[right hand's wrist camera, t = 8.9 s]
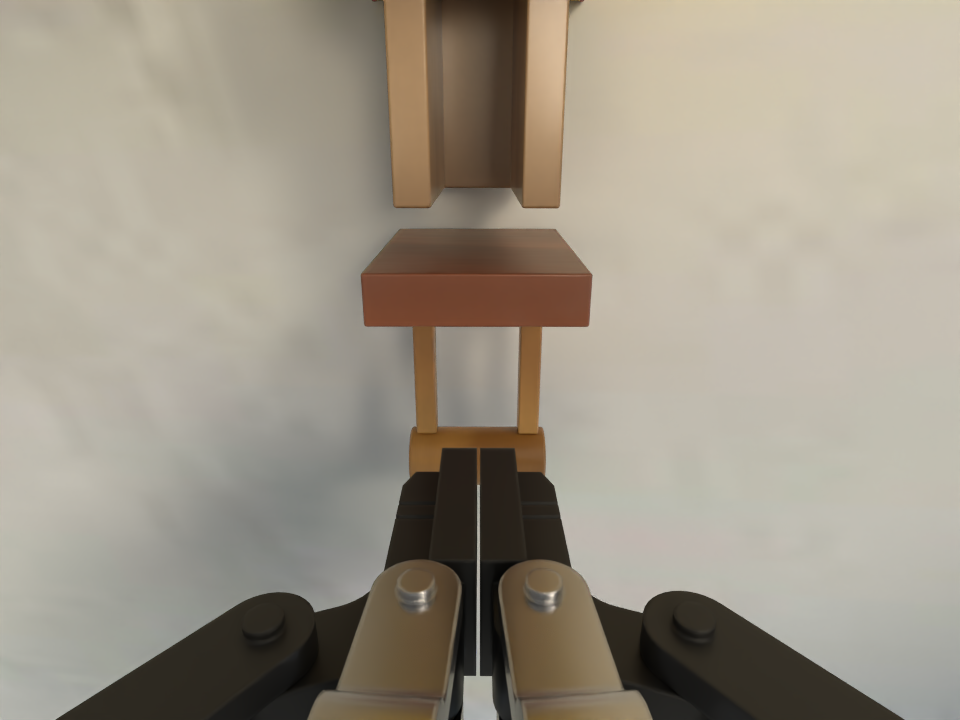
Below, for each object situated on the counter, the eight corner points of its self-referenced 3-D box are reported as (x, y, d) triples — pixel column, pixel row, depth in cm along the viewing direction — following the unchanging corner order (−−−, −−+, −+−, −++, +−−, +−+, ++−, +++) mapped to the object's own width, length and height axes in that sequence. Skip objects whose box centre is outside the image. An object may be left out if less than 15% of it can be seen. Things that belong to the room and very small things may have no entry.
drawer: (546, 433, 22) (573, 553, 15) (408, 433, 22) (379, 553, 15) (587, -466, 14) (677, -974, 7) (368, -466, 14) (272, -974, 7)
